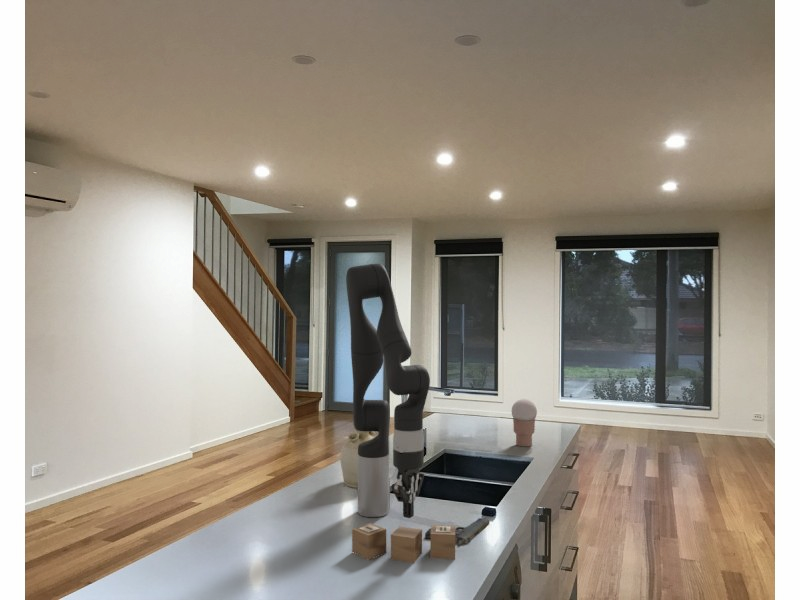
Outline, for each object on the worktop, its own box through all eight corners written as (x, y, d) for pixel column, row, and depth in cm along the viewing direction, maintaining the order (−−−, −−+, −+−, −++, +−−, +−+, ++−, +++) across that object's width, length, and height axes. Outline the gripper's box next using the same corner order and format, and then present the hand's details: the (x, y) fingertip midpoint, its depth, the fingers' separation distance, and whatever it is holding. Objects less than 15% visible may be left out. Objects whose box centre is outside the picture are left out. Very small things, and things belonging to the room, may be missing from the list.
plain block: (399, 550, 154) (399, 526, 154) (422, 553, 152) (422, 529, 152) (390, 559, 148) (390, 534, 148) (414, 563, 146) (414, 538, 146)
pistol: (451, 518, 178) (490, 525, 172) (422, 540, 162) (464, 549, 156) (451, 510, 178) (490, 518, 172) (422, 532, 162) (464, 540, 156)
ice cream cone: (540, 444, 269) (540, 398, 269) (531, 449, 260) (531, 402, 260) (517, 441, 275) (517, 396, 275) (507, 445, 266) (507, 399, 266)
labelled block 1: (370, 546, 156) (370, 522, 156) (386, 553, 152) (386, 528, 152) (352, 553, 152) (352, 528, 152) (368, 560, 148) (368, 534, 148)
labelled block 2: (431, 548, 155) (431, 523, 155) (455, 549, 154) (455, 524, 155) (430, 558, 149) (430, 532, 149) (455, 559, 149) (455, 533, 149)
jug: (358, 493, 199) (358, 416, 200) (331, 482, 211) (331, 410, 211) (393, 484, 209) (394, 411, 210) (366, 474, 221) (366, 405, 221)
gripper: (408, 439, 158) (407, 506, 158) (381, 450, 146) (381, 522, 147) (434, 442, 154) (433, 511, 154) (408, 454, 143) (408, 528, 143)
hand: (408, 516), depth 151 cm, fingers closed
